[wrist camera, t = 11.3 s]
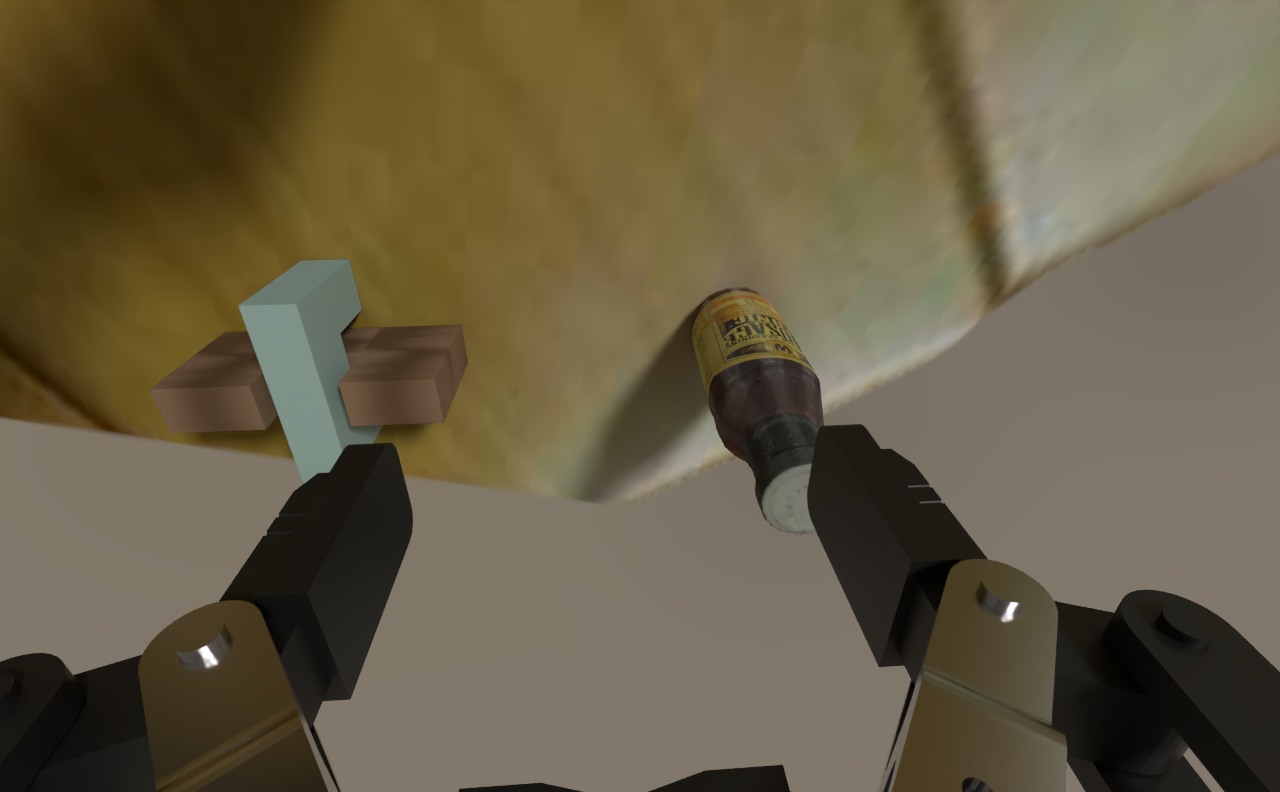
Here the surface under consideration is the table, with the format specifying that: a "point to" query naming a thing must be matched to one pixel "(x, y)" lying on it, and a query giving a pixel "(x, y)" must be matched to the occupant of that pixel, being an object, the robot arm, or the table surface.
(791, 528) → the sauce bottle
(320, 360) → the teal board
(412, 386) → the walnut u-shaped block
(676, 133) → the table surface
